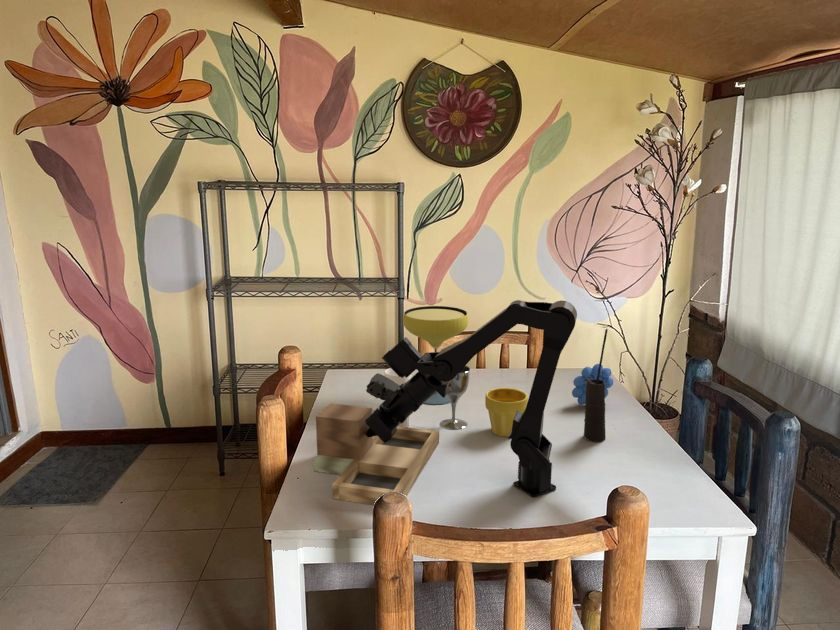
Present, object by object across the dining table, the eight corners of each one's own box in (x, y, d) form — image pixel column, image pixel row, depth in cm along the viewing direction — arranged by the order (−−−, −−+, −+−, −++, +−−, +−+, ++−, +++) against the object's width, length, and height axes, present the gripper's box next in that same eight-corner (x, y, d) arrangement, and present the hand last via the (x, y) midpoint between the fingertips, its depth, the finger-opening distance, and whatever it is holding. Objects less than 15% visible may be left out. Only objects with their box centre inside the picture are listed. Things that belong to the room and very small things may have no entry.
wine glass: (450, 415, 171) (450, 361, 168) (475, 423, 166) (476, 367, 163) (431, 425, 165) (431, 369, 162) (456, 433, 160) (457, 375, 157)
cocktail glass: (468, 388, 192) (469, 306, 186) (465, 411, 175) (467, 321, 169) (407, 386, 194) (407, 305, 188) (399, 408, 176) (398, 319, 171)
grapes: (605, 398, 183) (608, 358, 181) (615, 407, 177) (618, 365, 174) (565, 400, 182) (568, 360, 179) (574, 409, 176) (576, 367, 173)
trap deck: (439, 442, 155) (439, 431, 154) (398, 508, 125) (398, 494, 125) (351, 432, 161) (351, 421, 160) (293, 492, 132) (292, 479, 131)
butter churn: (562, 434, 159) (567, 324, 153) (589, 426, 164) (596, 319, 158) (590, 448, 152) (597, 333, 145) (617, 438, 157) (626, 327, 150)
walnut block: (372, 445, 147) (371, 407, 144) (359, 460, 139) (358, 421, 137) (332, 440, 149) (330, 403, 147) (317, 454, 142) (315, 416, 140)
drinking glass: (379, 430, 162) (378, 373, 159) (393, 420, 168) (392, 365, 165) (403, 435, 159) (402, 377, 156) (416, 425, 165) (416, 369, 162)
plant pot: (525, 441, 155) (526, 403, 153) (482, 438, 157) (483, 400, 155) (527, 425, 165) (528, 388, 163) (486, 421, 167) (487, 386, 165)
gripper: (402, 352, 145) (357, 394, 151) (374, 378, 128) (324, 424, 133) (436, 388, 145) (390, 429, 150) (412, 419, 127) (361, 464, 133)
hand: (367, 435), depth 142 cm, fingers closed, pressing on walnut block
